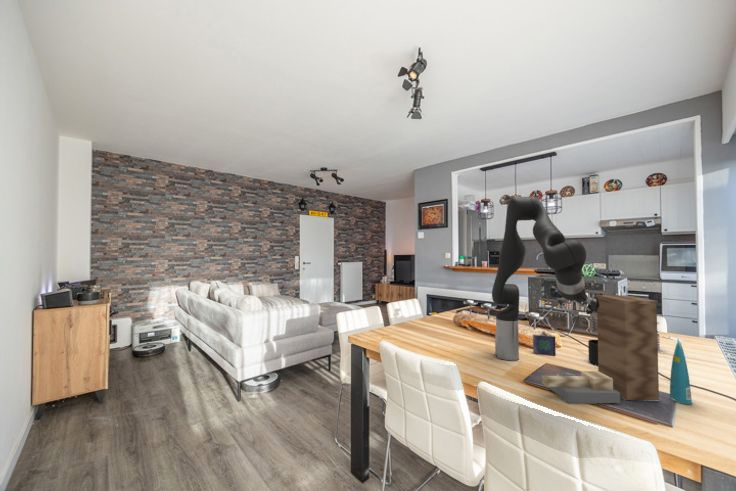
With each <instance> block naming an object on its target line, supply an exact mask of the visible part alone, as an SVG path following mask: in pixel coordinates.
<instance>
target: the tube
mask: <svg viewBox="0 0 736 491" xmlns="http://www.w3.org/2000/svg"><path fill="white" fill-rule="evenodd" d="M670 397H671V398H673V399H675V400H676V401H677V402H676V401H675V402H676V403H678V404H684V405H690V404H692V403H693V400H692V399H693V398H692V391H691V382H690V375H689V370H688V364H687V360H686V355H685V352H684V347H683V345H682V342H681V341H680V340H679V338H678V337H677V338H676V345H675V347H674V352H673V355H672V360H671V368H670V381H669V398H670Z"/></svg>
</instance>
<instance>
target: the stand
mask: <svg viewBox="0 0 736 491" xmlns="http://www.w3.org/2000/svg"><path fill="white" fill-rule="evenodd" d="M594 297H597V298H598V301H599V305H600V306H599V308H598V310H597V312H596V316H597V320H596V321H597V326H596V327H597V340H598V366H597V367H598V368H597V371H599V372H601V373H603V374H605V375H606V376H608V377H610V378H612V379H613V389H614V390H616V391H618V392H619V393H620V396H621V397H623V398H624V399H626V400H659V401H660V393H659V392H660V389H659V388H660V387H659V386H660V383H659V354H658V347H659V346H658V341H657V334H658V333H657V331H658V325H657V322H658V313H657V311H658V310H657V306H658V305H659V301H658V300H653V299H649V298H642V297H636V296H631V295H622V294H619V295H617V294H614V295H610V294H609V295H605V294H603V295H601V294H600V295H599V294H598V295H597V294H596V295H595V296H594ZM621 397H620V398H621ZM623 398H622V399H623ZM624 399H623V400H624ZM626 400H625V401H626Z"/></svg>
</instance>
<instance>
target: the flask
mask: <svg viewBox="0 0 736 491" xmlns="http://www.w3.org/2000/svg"><path fill="white" fill-rule="evenodd" d="M541 332H542V333H541V334H540V333H534V334H532V350H533V351H532V353H533V354H535V355H542V356H550V357H551V356H553V357H556V354H557V352H556V335H553V334H551V333H550V334H548V333H546V331H545V330H542V331H541Z"/></svg>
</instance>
